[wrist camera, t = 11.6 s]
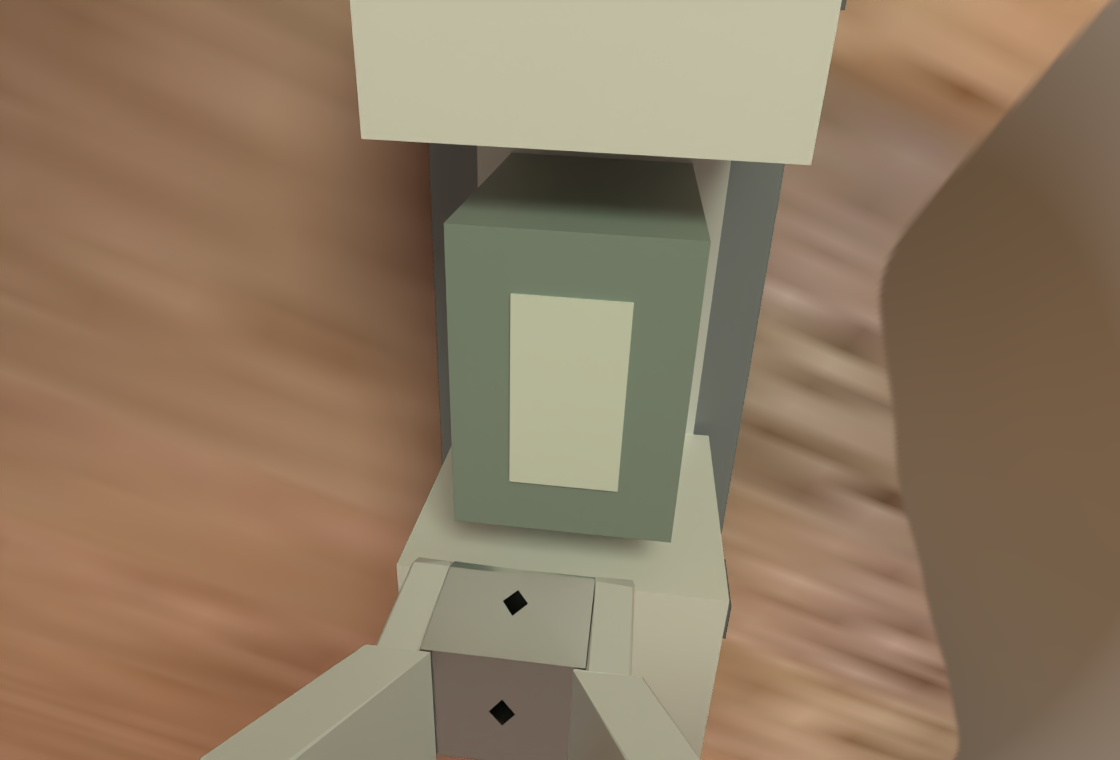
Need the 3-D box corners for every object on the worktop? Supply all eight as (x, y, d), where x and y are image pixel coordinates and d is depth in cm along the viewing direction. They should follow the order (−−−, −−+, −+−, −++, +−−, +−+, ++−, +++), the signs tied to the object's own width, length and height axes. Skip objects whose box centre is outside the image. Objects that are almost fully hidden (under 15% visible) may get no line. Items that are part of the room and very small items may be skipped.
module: (511, 152, 21) (442, 224, 14) (692, 163, 20) (711, 242, 14) (509, 376, 24) (453, 522, 17) (666, 389, 23) (671, 544, 17)
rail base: (424, -218, 18) (249, -384, 10) (841, -211, 17) (994, -386, 10) (452, 548, 29) (378, 750, 21) (709, 575, 28) (730, 795, 20)
